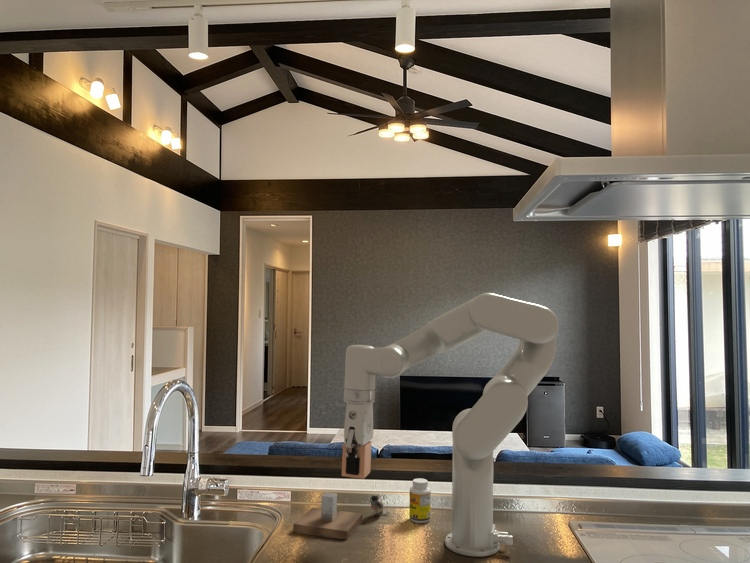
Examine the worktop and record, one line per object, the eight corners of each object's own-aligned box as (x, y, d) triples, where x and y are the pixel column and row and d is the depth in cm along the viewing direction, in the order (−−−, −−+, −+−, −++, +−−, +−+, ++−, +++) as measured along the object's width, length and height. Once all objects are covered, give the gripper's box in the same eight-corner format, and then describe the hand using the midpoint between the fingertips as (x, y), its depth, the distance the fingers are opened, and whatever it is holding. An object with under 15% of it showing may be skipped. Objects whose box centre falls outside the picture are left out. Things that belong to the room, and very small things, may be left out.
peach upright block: (370, 472, 136) (371, 441, 137) (363, 478, 131) (365, 446, 131) (348, 469, 138) (350, 438, 138) (341, 476, 132) (342, 443, 133)
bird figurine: (381, 522, 143) (379, 498, 144) (363, 519, 146) (362, 496, 147) (391, 515, 148) (389, 492, 149) (373, 513, 151) (372, 490, 151)
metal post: (336, 517, 141) (336, 493, 141) (332, 521, 138) (332, 497, 138) (325, 515, 142) (325, 492, 142) (321, 520, 139) (321, 495, 139)
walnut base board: (362, 521, 143) (362, 513, 144) (347, 539, 132) (347, 531, 132) (312, 515, 147) (312, 507, 147) (293, 532, 136) (293, 523, 136)
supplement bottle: (406, 517, 147) (406, 478, 148) (425, 515, 149) (425, 476, 149) (413, 524, 142) (414, 484, 142) (433, 522, 143) (434, 482, 144)
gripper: (364, 402, 126) (360, 482, 125) (382, 392, 143) (380, 463, 142) (333, 399, 128) (329, 478, 127) (355, 389, 145) (352, 460, 144)
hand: (356, 469), depth 134 cm, fingers closed on peach upright block, 5 cm apart
